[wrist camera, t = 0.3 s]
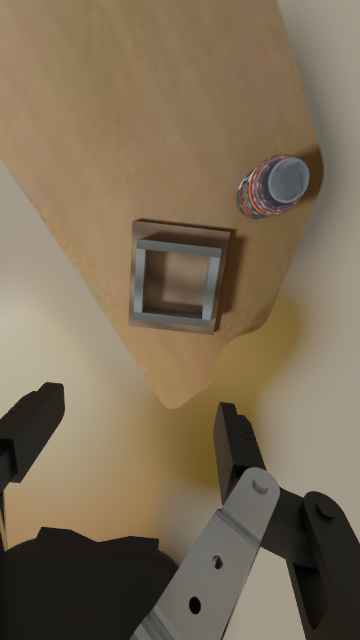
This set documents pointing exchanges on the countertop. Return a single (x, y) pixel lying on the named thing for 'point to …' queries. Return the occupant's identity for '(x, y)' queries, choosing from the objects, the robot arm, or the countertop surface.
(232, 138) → the countertop surface
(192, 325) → the socket board
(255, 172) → the supplement bottle
